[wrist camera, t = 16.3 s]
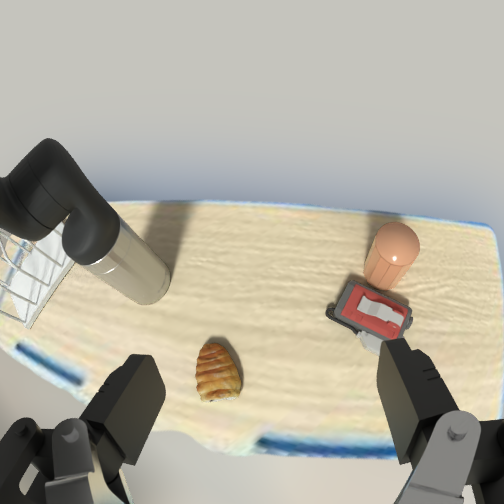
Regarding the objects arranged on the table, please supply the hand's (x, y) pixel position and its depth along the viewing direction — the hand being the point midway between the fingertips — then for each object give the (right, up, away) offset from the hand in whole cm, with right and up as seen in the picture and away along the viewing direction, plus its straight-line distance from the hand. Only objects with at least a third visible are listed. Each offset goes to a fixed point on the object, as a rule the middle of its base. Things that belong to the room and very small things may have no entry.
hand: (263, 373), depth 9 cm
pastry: (-6, -15, +33) cm, 37 cm away
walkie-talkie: (+20, -8, +32) cm, 39 cm away
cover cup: (+21, +1, +36) cm, 42 cm away
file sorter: (-52, -1, +50) cm, 72 cm away
